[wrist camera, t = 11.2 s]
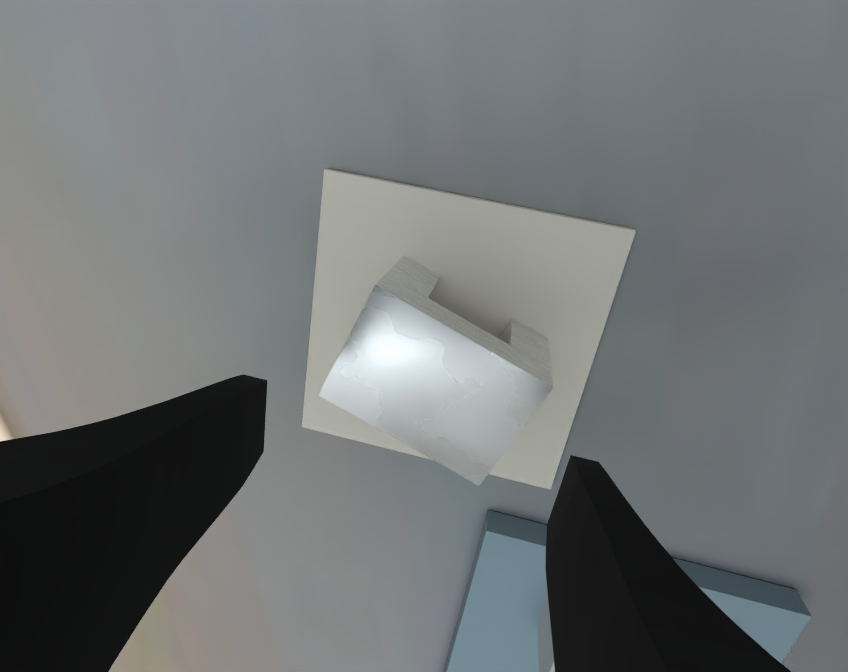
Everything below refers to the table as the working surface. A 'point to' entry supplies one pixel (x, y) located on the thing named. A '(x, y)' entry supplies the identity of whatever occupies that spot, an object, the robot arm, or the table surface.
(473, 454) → the grey notched block
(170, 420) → the robot arm
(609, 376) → the table surface
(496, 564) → the bench vise
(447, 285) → the cream mat
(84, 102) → the table surface
